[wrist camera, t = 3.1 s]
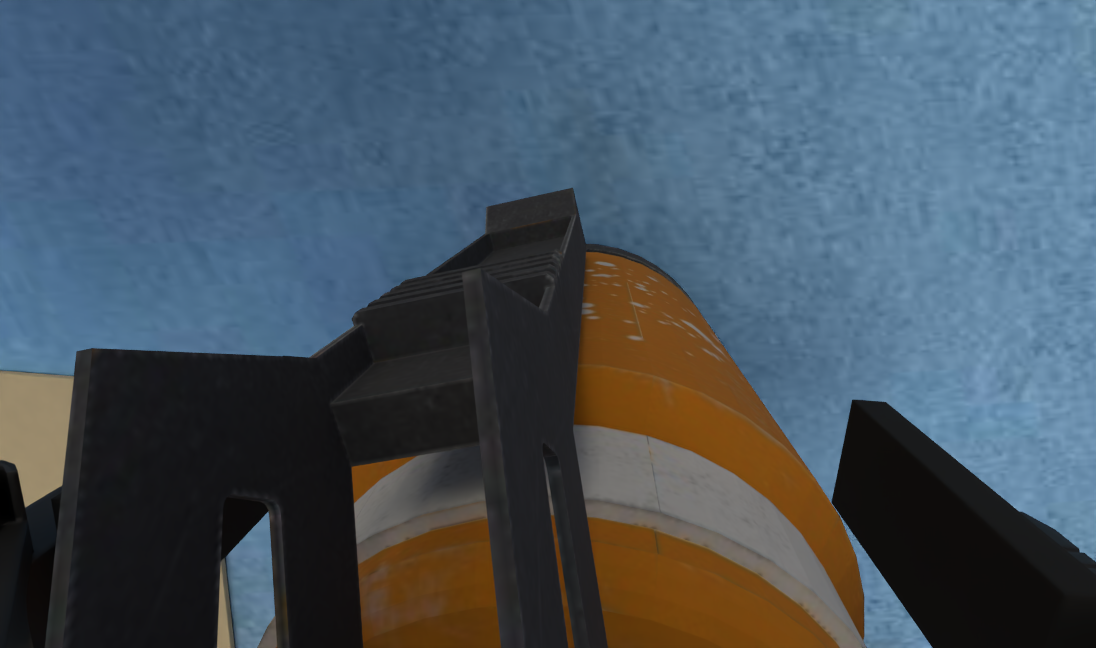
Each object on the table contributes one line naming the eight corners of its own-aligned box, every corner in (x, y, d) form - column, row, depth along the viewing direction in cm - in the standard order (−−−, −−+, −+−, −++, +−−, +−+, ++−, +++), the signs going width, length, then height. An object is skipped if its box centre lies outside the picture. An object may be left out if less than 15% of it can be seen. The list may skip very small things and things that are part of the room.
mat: (-182, 355, 24) (-191, 358, 23) (206, 386, 23) (201, 389, 23) (-67, 742, 29) (-74, 748, 29) (249, 779, 28) (246, 785, 28)
